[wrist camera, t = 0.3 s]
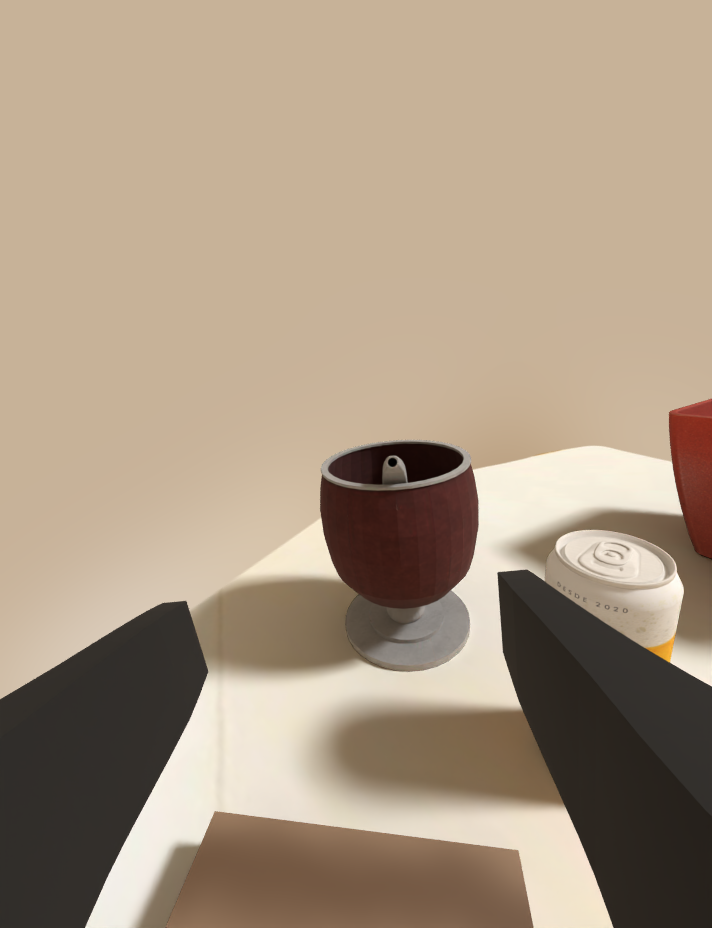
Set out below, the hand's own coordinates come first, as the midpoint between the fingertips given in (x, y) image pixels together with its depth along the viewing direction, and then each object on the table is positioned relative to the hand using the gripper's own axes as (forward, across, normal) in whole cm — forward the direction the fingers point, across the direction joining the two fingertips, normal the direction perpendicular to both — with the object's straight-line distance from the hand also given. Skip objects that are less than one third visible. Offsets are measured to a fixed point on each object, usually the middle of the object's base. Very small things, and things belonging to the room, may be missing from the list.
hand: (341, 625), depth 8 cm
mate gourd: (+24, 0, +20) cm, 31 cm away
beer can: (+12, -11, +21) cm, 27 cm away
